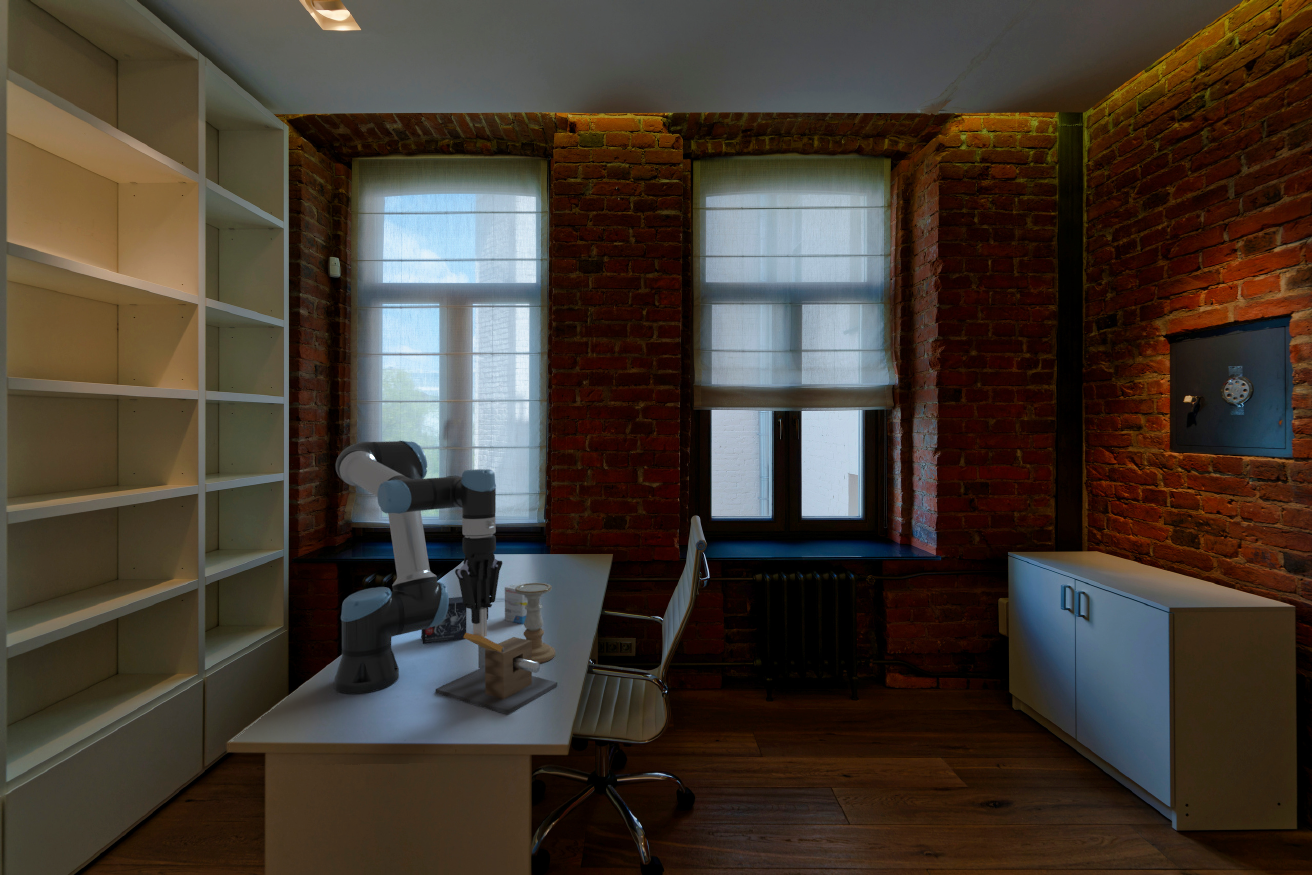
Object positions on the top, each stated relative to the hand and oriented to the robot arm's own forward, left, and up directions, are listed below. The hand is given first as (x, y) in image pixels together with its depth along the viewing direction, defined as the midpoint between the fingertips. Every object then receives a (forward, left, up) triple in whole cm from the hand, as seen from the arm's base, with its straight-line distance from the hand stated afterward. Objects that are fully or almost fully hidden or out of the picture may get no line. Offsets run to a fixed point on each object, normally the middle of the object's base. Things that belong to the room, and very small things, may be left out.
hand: (480, 635), depth 143 cm
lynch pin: (0, +10, -12) cm, 16 cm away
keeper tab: (0, +1, -3) cm, 3 cm away
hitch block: (-4, +10, -17) cm, 20 cm away
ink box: (-38, +57, -18) cm, 71 cm away
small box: (-46, +30, -18) cm, 58 cm away
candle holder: (-11, +32, -17) cm, 38 cm away
